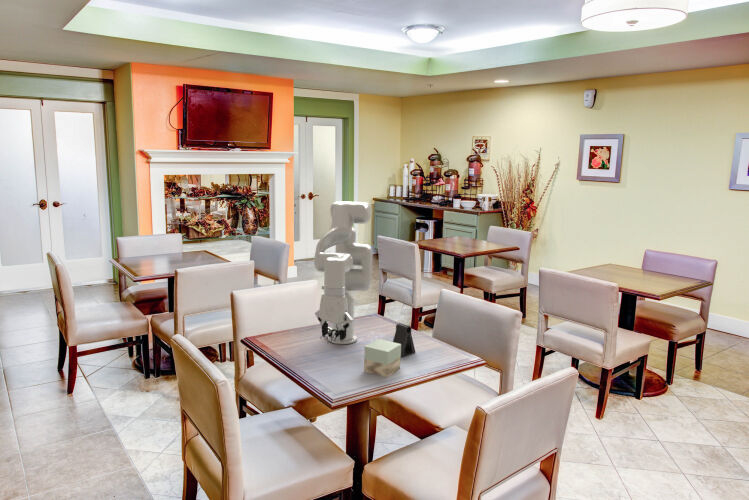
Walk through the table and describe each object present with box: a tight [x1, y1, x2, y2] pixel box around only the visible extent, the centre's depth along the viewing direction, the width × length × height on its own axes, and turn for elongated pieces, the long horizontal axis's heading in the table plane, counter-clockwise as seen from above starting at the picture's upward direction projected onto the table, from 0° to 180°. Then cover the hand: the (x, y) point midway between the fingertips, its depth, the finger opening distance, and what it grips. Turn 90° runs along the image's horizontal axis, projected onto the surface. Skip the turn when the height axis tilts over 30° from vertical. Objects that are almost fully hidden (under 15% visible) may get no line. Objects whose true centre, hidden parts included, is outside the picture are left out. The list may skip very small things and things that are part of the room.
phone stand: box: [392, 322, 416, 358], centre depth 221 cm, size 9×6×12 cm, turn 133°
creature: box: [319, 325, 340, 344], centre depth 200 cm, size 8×5×8 cm
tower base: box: [363, 357, 401, 378], centre depth 204 cm, size 10×10×5 cm
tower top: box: [363, 338, 402, 365], centre depth 203 cm, size 10×10×5 cm
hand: (333, 336), depth 201 cm, fingers closed on creature, 7 cm apart
